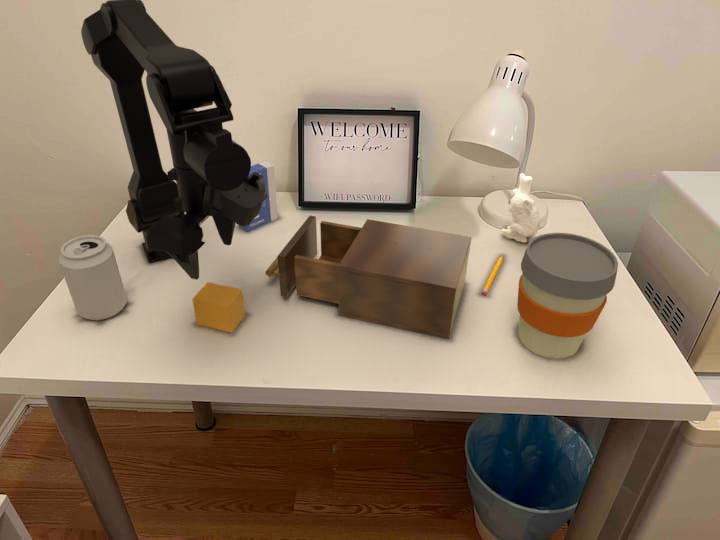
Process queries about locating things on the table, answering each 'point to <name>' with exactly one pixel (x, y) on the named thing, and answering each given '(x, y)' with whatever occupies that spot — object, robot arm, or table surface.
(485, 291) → the pencil
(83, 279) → the can
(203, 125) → the robot arm
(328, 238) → the drawer
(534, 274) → the reusable coffee cup
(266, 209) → the walkman
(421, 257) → the cabinet
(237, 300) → the orange rectangular block
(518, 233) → the white rabbit figurine
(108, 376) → the table surface
